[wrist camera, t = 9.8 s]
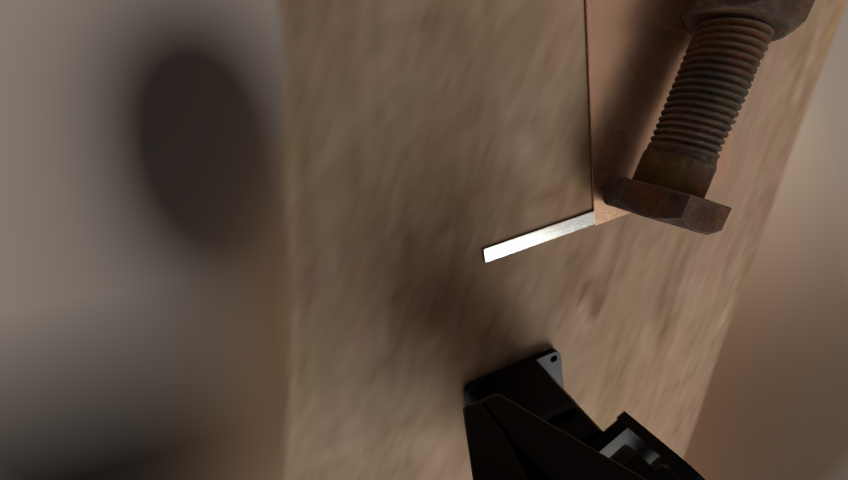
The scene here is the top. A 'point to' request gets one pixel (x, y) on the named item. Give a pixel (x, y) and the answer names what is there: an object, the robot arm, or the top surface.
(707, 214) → the bolt
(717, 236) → the top surface
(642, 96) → the seat and pad
